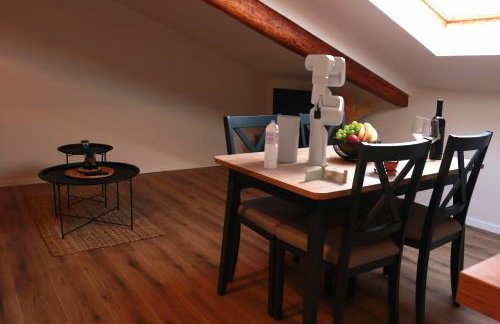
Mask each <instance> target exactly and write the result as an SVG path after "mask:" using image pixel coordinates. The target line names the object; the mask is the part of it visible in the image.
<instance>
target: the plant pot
mask: <svg viewBox="0 0 500 324" xmlns="http://www.w3.org/2000/svg"><path fill="white" fill-rule="evenodd" d="M399 162H400V160H399V161H397V162H384V166H385V169H386V172H387V175H386V176H393V175H396V174H397V173H398V170H397V167H398V165H399ZM373 165H374V164H373ZM373 171H374V172H375V173H376V174H378V173H377V172H376V169H375V165H374V168H373Z"/></svg>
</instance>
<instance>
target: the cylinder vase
mask: <svg viewBox="0 0 500 324" xmlns="http://www.w3.org/2000/svg"><path fill="white" fill-rule="evenodd" d="M276 118H277V119H276V125H277V126H278V127H279V141H278V161H277V163H278V162H279V163H284V164H293V163H297V161H298V155H299V154H298V152H299V138H300V137H299V136H300V123H301V117H300V116H296V115H277V117H276Z"/></svg>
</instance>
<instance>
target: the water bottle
mask: <svg viewBox="0 0 500 324" xmlns="http://www.w3.org/2000/svg"><path fill="white" fill-rule="evenodd" d="M264 140H265V141H264V142H265V143H264V155H263V157H264V158H263V159H264V160H263V169H264V170H276V169H278V141H279V127H278V126H277V123H276V120H274V119H271V121H270V123H269V124H268V125H267V126H266V128H265V139H264Z"/></svg>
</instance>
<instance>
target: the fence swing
mask: <svg viewBox="0 0 500 324" xmlns="http://www.w3.org/2000/svg"><path fill="white" fill-rule="evenodd" d="M322 170H323V169H321V168H315V169H311V170H305V178H304V182H311V181H315V180H318V179H319V180H320V179H323V178H322Z"/></svg>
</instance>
